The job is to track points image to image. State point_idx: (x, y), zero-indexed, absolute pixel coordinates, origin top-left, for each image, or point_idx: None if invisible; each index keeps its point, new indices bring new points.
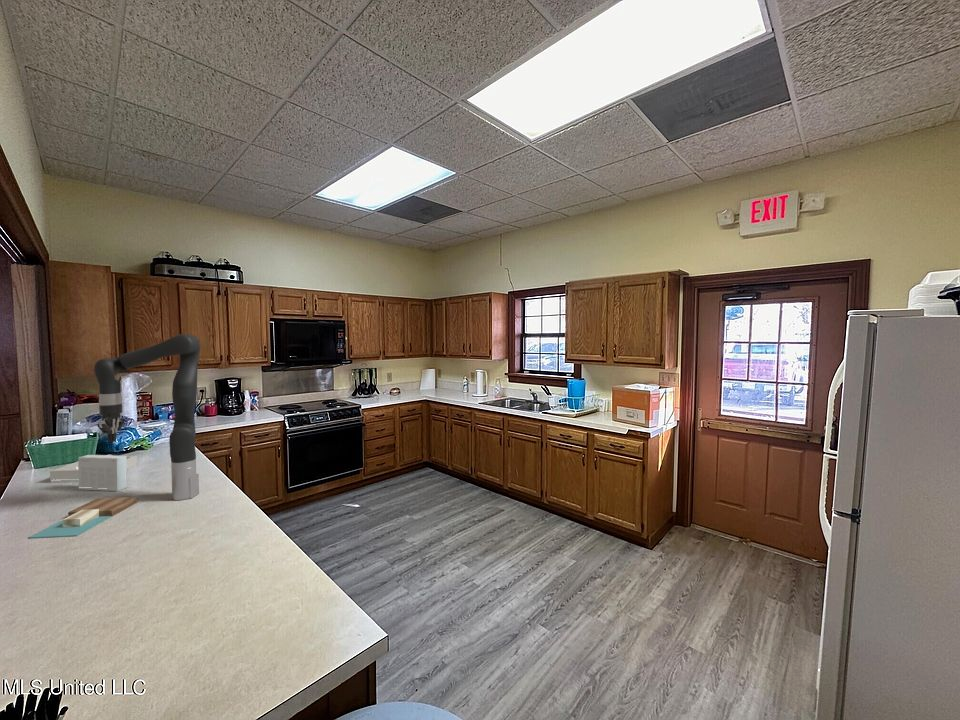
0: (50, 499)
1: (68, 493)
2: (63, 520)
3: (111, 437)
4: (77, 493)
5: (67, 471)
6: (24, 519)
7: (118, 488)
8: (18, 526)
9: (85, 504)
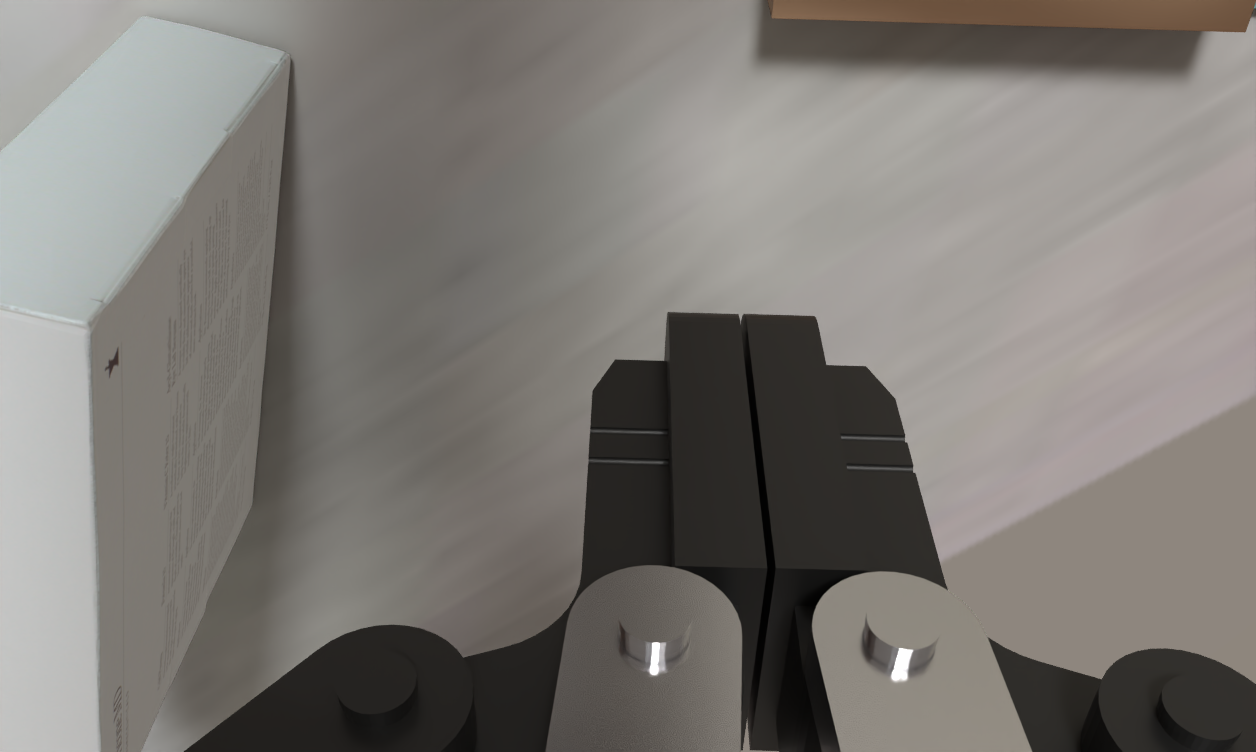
0: (529, 548)
1: (367, 514)
2: None
3: (900, 486)
4: (367, 440)
5: None
6: (1056, 413)
7: (262, 59)
8: (1250, 342)
9: (988, 10)
